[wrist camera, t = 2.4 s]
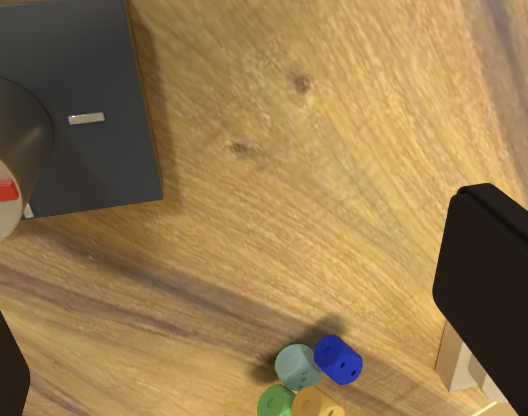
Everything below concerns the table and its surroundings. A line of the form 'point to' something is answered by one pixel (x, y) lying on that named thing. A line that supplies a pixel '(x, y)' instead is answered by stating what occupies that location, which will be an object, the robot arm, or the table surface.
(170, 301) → the table surface
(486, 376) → the button base
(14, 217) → the temp dial
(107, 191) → the dial panel
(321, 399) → the dice
